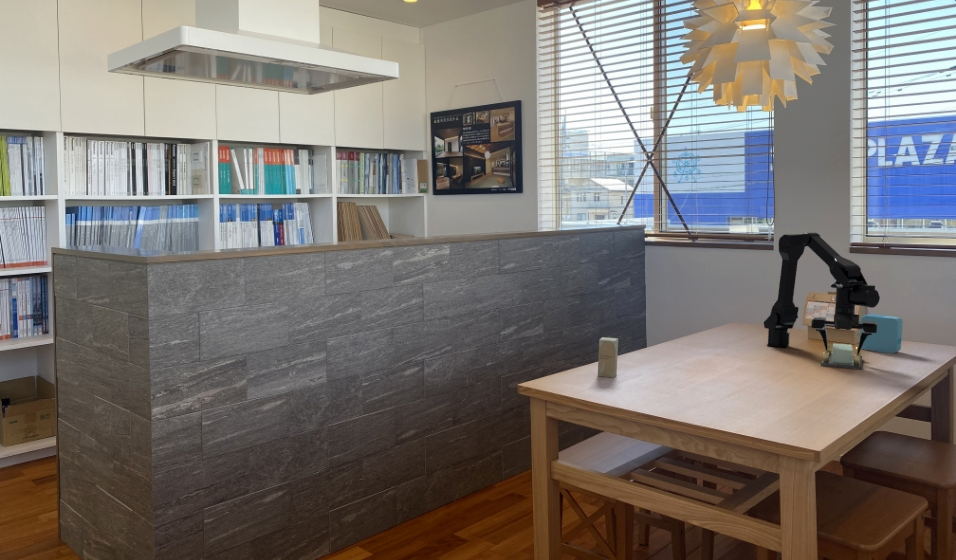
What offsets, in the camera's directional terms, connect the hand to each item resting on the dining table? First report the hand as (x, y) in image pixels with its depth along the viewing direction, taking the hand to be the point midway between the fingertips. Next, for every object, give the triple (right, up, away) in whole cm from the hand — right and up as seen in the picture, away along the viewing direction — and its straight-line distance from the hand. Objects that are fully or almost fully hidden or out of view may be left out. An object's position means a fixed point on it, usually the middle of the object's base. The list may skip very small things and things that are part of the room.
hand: (842, 351), depth 246 cm
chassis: (0, -4, 0) cm, 4 cm away
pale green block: (0, -3, 0) cm, 2 cm away
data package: (+22, -2, +19) cm, 29 cm away
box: (-78, -6, -18) cm, 80 cm away
